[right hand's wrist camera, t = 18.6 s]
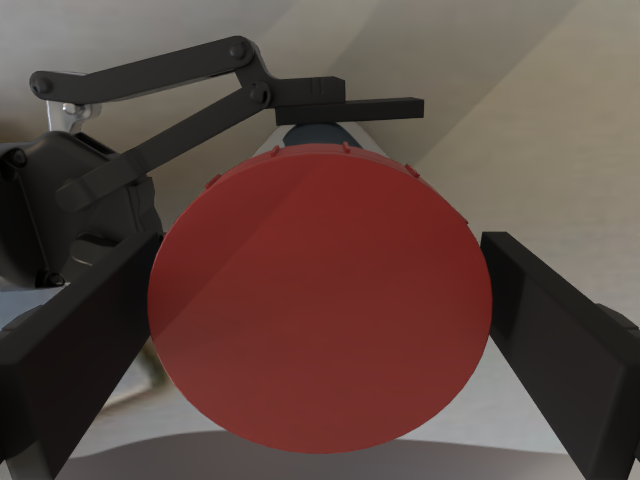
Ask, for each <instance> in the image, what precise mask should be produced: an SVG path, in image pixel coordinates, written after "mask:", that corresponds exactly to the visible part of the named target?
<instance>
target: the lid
mask: <svg viewBox="0 0 640 480" xmlns="http://www.w3.org/2000/svg"><path fill="white" fill-rule="evenodd" d="M419 176H420V175H419V174H418V173H417V172H416V171H415V170H414V169H413V168H412V167H411V166H410V165H408V164H407V165H406V166H405V167H404V166H403V165H401V164H400V163H398V162H396V161H394V160H392V159H389V158H387V157H385V156H383V155H380V154H378V153H375V152H371V151H368V150H364V149H361V148H358V147H352V146H349V145H348V142H343V145H339V144H319V143H310V144H302V145H293V146H287V147H283V148H280V147H279V145H276V146H274V148H273V149H272V150H271V151H268V152H265V153H262V154H260V155H258V156H255V157H253V158H250V159H248V160H246V161H244V162H242V163H241V164H239V165H237V166H235V167H234V168H232V169H230V170H228V171H227V172H226V173H225V174H223V175H222V176H221V175H220V174H217V175H216V176H215V177H214V178H213V179H212V180H211V181H210V182H209V183H207V184H206V185H205V187H206V188H207V189H205V190H204V191H203V192H202V193H201V194H200V195H199V196H198V197H197V198H196V199H195V200H194V201H193V202H192V203H191V204H190V205H189V206H188V207H187V208H186V209H185V211H184V212H183V213H182V214H181V215H180V216H179V217H178V218H177V220H176V221H175V223H174V224H173V226H172V227H171V228H170V230H169V231H168V232H167V233H166V234H165V235H164V237H163V238H164V240H163V242H162V244H161V246H160V248H159V250H158V252H157V254H156V258H155V261H154V264H153V267H152V270H151V273H150V280H149V286H148V293H147V315H148V321H149V327H150V334H151V337H152V340H153V343H154V347H155V350H156V353H157V355H158V357H159V359H160V361H161V363H162V365H163V367H164V370H165V371H166V373H167V374H168V376H169V377H170V379H171V380H172V382H173V383H174V385H175V386H176V387H177V389H178V390H179V391H180V392H181V393H182V394H183V396H184V397H185V398H186V399H187V400H188V401H189V402H190V403H191V404H192V405H193V406H194V407H195V408H196V409H197V410H199V411H200V412H201V413H202V414H203V415H205V416H206V417H207V418H209V419H210V420H212V421H213V422H214V423H216V424H217V425H219V426H221V427H222V428H224V429H226V430H228V431H229V432H231V433H233V434H235V435H237V436H240V437H242V438H244V439H247V440H249V441H251V442H254V443H257V444H261V445H264V446H267V447H270V448H275V449H280V450H284V451H289V452H299V453H308V454H330V453H342V452H350V451H355V450H360V449H365V448H369V447H373V446H376V445H379V444H383V443H386V442H388V441H391V440H393V439H396V438H398V437H400V436H403V435H405V434H407V433H408V432H410V431H412V430H414V429H416V428H418V427H420V426H421V425H422V424H424V423H425V422H427V421H428V420H430V419H431V418H433V417H434V416H435V415H437V414H438V413H439V412H440V411H441V410H442V409H443V408H445V407H446V406H447V405H448V404H449V403H450V402H451V401H452V400H453V399H454V398H455V397H456V395H457V394H458V393H459V392H460V391H461V390H462V389H463V387H464V386H465V384H466V383H467V381H468V380H469V379H470V377H471V376H472V374H473V373H474V371H475V369H476V367H477V365H478V363H479V361H480V359H481V357H482V355H483V352H484V349H485V346H486V343H487V340H488V337H489V331H490V326H491V321H492V303H493V297H492V288H491V279H490V275H489V272H488V268H487V264H486V261H485V258H484V255H483V253H482V251H481V249H480V246H479V244H478V242H477V240H476V238H475V236H474V235H473V233H472V232H471V230H470V229H469V227H468V226H467V224H468V222H467V220H466V219H465V218H464V217H463V216H462V215H461V214H459V213H458V212H457V211H456V210H455V209H454V208H453V207H452V206H451V205H450V204H449V203H448V202H447V201H446V200H445V199H444V198H443V197H442V196H441V195H440V194H439V193H438V192H437V191H435V190H434V189H433V188H432V187H431V186H430V185H429V184H428V183H426V182H425V181H424V180H423V179H422V178H420V177H419Z"/></svg>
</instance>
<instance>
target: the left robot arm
mask: <svg viewBox="0 0 640 480" xmlns="http://www.w3.org/2000/svg"><path fill="white" fill-rule="evenodd" d="M234 72H235V73H236V75H237V77H238V79H239V82H240V84H241V86H242V88H241V89H239V90H237V91H235V92H233V93H232V94H230V95H228V96H226V97H224V98H223V99H221V100H219V101H217V102H216V103H214V104H212V105H210V106H208V107H207V108H205V109H203V110H201V111H199V112H198V113H196V114H194V115H192V116H190V117H189V118H187V119H185V120H183V121H181V122H180V123H178V124H176V125H174V126H172V127H171V128H169V129H167V130H165V131H163V132H162V133H160V134H158V135H156V136H155V137H153V138H151V139H149V140H147V141H146V142H144V143H142V144H140V145H138V146H137V147H135V148H133V149H131V150H128V151H126V152H124V153H123V154H119V153H117V152H115V151H114V150H112V149H110V148H109V147H107V146H105V145H104V144H102V143H100V142H98V141H97V140H95V139H93V138H92V137H90V136H88V135H86V134H85V133H83V132H81V125H82V123H83V122H84V121H85V120H87V119H93V118H96V117H98V116H99V114H100V112H101V109H102V104H101V103H106V102H116V101H122V100H128V99H132V98H136V97H140V96H143V95H147V94H151V93H155V92H159V91H163V90H167V89H171V88H175V87H179V86H183V85H187V84H191V83H194V82H198V81H202V80H206V79H210V78H214V77H218V76H222V75H226V74H230V73H234ZM30 87H31V90H32V92H33V93H34V94H35V95H36V96H37V97H38V98H40V99H43V100H46V108H47V117H48V126H49V132H46V133H44V134H42V135H41V136H40V137H39V138H37V139H36V140H34V141H31V142H13V143H0V292H8V291H29V290H43V289H50V288H56V287H63V286H68V285H69V284H70V283H71V282H73V281H74V280H75V279H76V278H77V277H79V276H80V275H81V274H82V273H84V272H85V271H86V270H87V269H88V268H90V267H91V266H92V265H93V264H95V263H96V262H97V261H98V260H100V259H101V258H102V257H103V256H104V255H106V254H107V253H108V252H109V251H111V250H112V249H113V248H114V247H116V246H117V245H118V244H119V243H120V242H122V241H123V240H124V239H125V238H127V237H128V236H129V235H130V234H131V233H133V232H158V238H159V244H160V246H161V244H162V242H163V240H164V238H163V237H164V235H165V234H166V233H165V232H163V230H162V225H161V220H160V218H159V215H158V213H157V211H156V209H155V207H154V194H155V190H154V185H153V180H152V177H147V175H146V173H147V172H149V171H151V170H153V169H155V168H157V167H159V166H160V165H162V164H164V163H166V162H168V161H170V160H171V159H173V158H175V157H177V156H179V155H181V154H182V153H184V152H186V151H188V150H190V149H192V148H193V147H195V146H197V145H199V144H201V143H203V142H205V141H206V140H208V139H210V138H212V137H214V136H216V135H217V134H219V133H221V132H223V131H225V130H227V129H229V128H230V127H232V126H234V125H236V124H238V123H240V122H241V121H243V120H245V119H247V118H249V117H251V116H252V115H254V114H256V113H258V112H260V111H262V110H264V109H271V108H275V114H276V126H283V125H301V124H317V123H318V124H319V123H337V122H355V121H373V120H391V119H409V118H424V100H423V99H418V98H412V97H408V98H390V99H373V100H355V101H346V100H345V80H342V79H339V78H336V77H334V76H331V77H314V78H297V79H278V78H275V77H273V76H272V75H271V74H270V73H269V72H268V70H267V68H266V66H265V63H264V61H263V59H262V57H261V54H260V50H259V48H258V46H257V45H256V44H255V43H254V42H252V41H250V40H248V39H247V38H244V37H242V36H232V37H229V38H225V39H221V40H217V41H213V42H209V43H206V44H202V45H198V46H194V47H190V48H187V49H183V50H179V51H175V52H171V53H168V54H164V55H160V56H156V57H152V58H148V59H145V60H141V61H137V62H133V63H129V64H126V65H122V66H118V67H114V68H110V69H107V70H103V71H99V72H95V73H91V74H85V73H77V72H59V71H36V72H35V73H33V74H32V76H31V77H30Z"/></svg>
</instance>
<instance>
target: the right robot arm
mask: <svg viewBox="0 0 640 480" xmlns="http://www.w3.org/2000/svg"><path fill="white" fill-rule="evenodd" d="M159 248H160V244H159V238H158V232H133V233H131V234H130V235H129V236H128V237H127V238H125V239H124V240H123V241H122V242H120V243H119V244H118V245H117V246H116V247H114V248H113V249H112V250H111V251H109V252H108V253H107V254H106V255H104V256H103V257H102V258H101V259H100V260H98V261H97V262H96V263H95V264H93V265H92V266H91V267H90V268H88V269H87V270H86V271H85V272H84V273H82V274H81V275H80V276H79V277H77V278H76V279H75V280H74V281H73V282H71V283H70V284H69V285H68V286H66V287H65V288H64V289H63V290H61V291H60V292H59V293H58V294H57V295H55V296H54V297H53V298H52V299H50V300H49V301H48V302H47V303H45V304H44V305H40V306H38V307H36V308H33V309H31V310H29V311H27V312H25V313H23V314H21V315H19V316H18V317H16V318H15V319H14V320H13V321H11V322H10V323H9V324H7V325H6V326H5V327H4V328H2V331H0V464H1V463H2V462H3V461H4V460H5V461H6V463H7V466H8V469H9V471H10V474H11V477H12V480H54V479H55V478H56V476H57V475H58V473H59V471H60V470H61V469H62V467H63V466H64V464H65V463H66V461H67V460H68V458H69V457H70V455H71V454H72V452H73V451H74V449H75V448H76V446H77V444H78V443H79V441H80V440H81V438H82V437H83V435H84V434H85V432H86V431H87V429H88V428H89V426H90V425H91V423H92V422H93V420H94V419H95V417H96V416H97V414H98V413H99V411H100V410H101V408H102V407H103V405H104V404H105V402H106V401H107V399H108V398H109V396H110V395H111V393H112V392H113V390H114V389H115V387H116V386H117V384H118V383H119V381H120V380H121V378H122V377H123V375H124V374H125V372H126V371H127V369H128V368H129V366H130V365H131V363H132V362H133V360H134V359H135V357H136V356H137V354H138V353H139V351H140V350H141V348H142V347H143V345H144V344H145V342H146V341H147V339H148V338H149V336H150V335H151V334H150V327H149V321H148V315H147V293H148V286H149V280H150V273H151V270H152V267H153V264H154V261H155V258H156V254H157V252H158V250H159ZM480 249H481V251H482V253H483V255H484V258H485V261H486V264H487V268H488V272H489V275H490V279H491V288H492V297H493V303H492V321H491V326H490V331H489V335H490V336H491V338H492V339H493V341H494V342H495V344H496V345H497V347H498V348H499V350H500V351H501V353H502V354H503V356H504V357H505V359H506V360H507V362H508V363H509V365H510V366H511V368H512V369H513V371H514V372H515V374H516V375H517V377H518V378H519V380H520V381H521V383H522V384H523V386H524V387H525V389H526V390H527V392H528V393H529V395H530V396H531V398H532V399H533V401H534V402H535V404H536V405H537V407H538V408H539V410H540V411H541V413H542V414H543V416H544V417H545V419H546V420H547V422H548V423H549V425H550V426H551V428H552V429H553V431H554V432H555V434H556V435H557V437H558V438H559V440H560V441H561V443H562V445H563V446H564V448H565V449H566V451H567V452H568V454H569V455H570V457H571V458H572V460H573V461H574V462H575V464H576V465H577V467H578V469H579V470H580V472H581V473H582V475H583V476H584V477H585V479H586V480H628V477H629V474H630V471H631V469H632V466H633V463H634V461H635V458H637V460H638V461H639V462H640V330H639V327H638V326H636V325H635V324H634V323H632V322H631V321H630V320H629V319H627V318H626V317H625V316H623V315H622V314H620V313H618V312H616V311H614V310H612V309H610V308H608V307H606V306H604V305H602V304H595V303H593V302H592V301H591V300H590V299H588V298H587V297H586V296H585V295H583V294H582V293H581V292H580V291H579V290H577V289H576V288H575V287H574V286H572V285H571V284H570V283H569V282H567V281H566V280H565V279H564V278H563V277H561V276H560V275H559V274H558V273H556V272H555V271H554V270H553V269H552V268H550V267H549V266H548V265H547V264H545V263H544V262H543V261H542V260H540V259H539V258H538V257H537V256H536V255H534V254H533V253H532V252H531V251H529V250H528V249H527V248H526V247H524V246H523V245H522V244H521V243H520V242H518V241H517V240H516V239H515V238H513V237H512V236H511V235H510V234H508V233H507V232H482V238H481V244H480Z"/></svg>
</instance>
